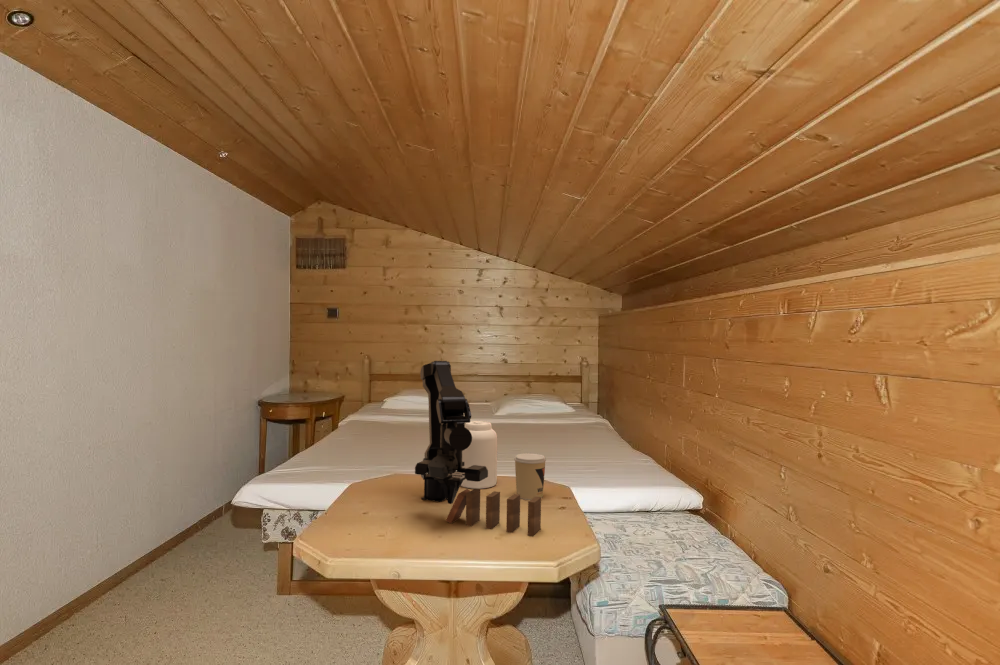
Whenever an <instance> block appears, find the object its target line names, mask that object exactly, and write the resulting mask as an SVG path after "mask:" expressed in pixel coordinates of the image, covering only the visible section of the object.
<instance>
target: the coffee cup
mask: <svg viewBox="0 0 1000 665" xmlns="http://www.w3.org/2000/svg"><path fill="white" fill-rule="evenodd" d="M546 461H547V459H546V457H545V455H543V454H540V453H531V452H530V453H528V452H527V453H525V452H524V453H519V454H516V455H515V456H514V462H515V463H514V466H515V468H514V469H515V470H514V471H515V486H516V487H515V489H516V494H520V500H525V501H530V500H531V499H532V498H534V497H541V499H543V495H544V485H545V483H544V482H545V469H546Z"/></svg>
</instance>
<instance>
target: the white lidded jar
mask: <svg viewBox="0 0 1000 665" xmlns="http://www.w3.org/2000/svg"><path fill="white" fill-rule="evenodd" d="M492 425H493V424H492V423H491V422H490V421H487V420H486V421H485V420H470V423H465V428H467V429H468V430H469V431H470V433H471V435H472V442H471V444H470V446H469V447H468V448H467V449H465V450H463V451H462V462H464V466H462V468H468V467H471V466H473V465H478V466H486V468H487V470H488V477H487V478H485V479H483V480H481V481H478V482H476V481H468V480H467V479H465V480H463V482H462V484H461V486H460V487H462V488H465V489H472V490H473V489H480V490H481V489H483V490H484V489H489V488H491V487H492V488H493V487H495V486H496V485H497V480H498V479H497V476H498V474H497V473H498V434H497V432H496V430H494V429H493V428H492V427H493V426H492Z"/></svg>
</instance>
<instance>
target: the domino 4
mask: <svg viewBox="0 0 1000 665" xmlns="http://www.w3.org/2000/svg"><path fill="white" fill-rule="evenodd" d="M520 523H521V499H520V494H517V493H513V494H512V495H510V496H509V497H508V498H507V499H506V530H505V531H506V533H512V534H513V533H514V532H515V531H517V529H519V528H520V526H521V525H520Z"/></svg>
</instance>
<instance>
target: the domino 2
mask: <svg viewBox="0 0 1000 665" xmlns="http://www.w3.org/2000/svg"><path fill="white" fill-rule="evenodd" d="M480 521H481V489H472V490H470V492H468V493H466V506H465V526H468V527H472V526H474V525H475V524H477V523H478V522H480Z"/></svg>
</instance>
